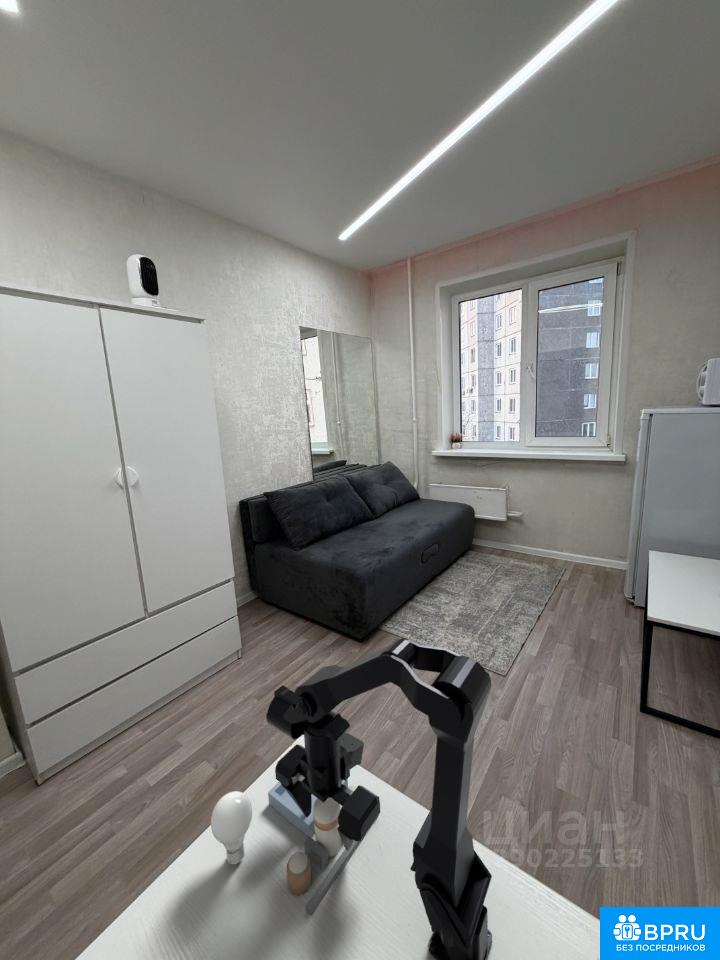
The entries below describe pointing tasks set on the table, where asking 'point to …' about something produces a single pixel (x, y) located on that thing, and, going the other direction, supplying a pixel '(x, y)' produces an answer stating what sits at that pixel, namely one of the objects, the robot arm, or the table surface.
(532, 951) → the table surface
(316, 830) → the cylinder
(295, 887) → the cylinder
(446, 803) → the robot arm
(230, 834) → the lightbulb
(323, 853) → the grey bar and blocks
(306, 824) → the tray
